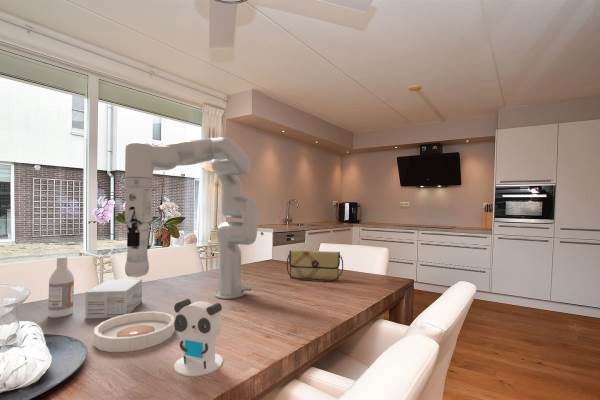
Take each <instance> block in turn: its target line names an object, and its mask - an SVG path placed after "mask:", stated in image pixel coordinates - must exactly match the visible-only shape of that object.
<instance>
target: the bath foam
mask: <svg viewBox="0 0 600 400" xmlns="http://www.w3.org/2000/svg"><path fill="white" fill-rule="evenodd" d="M74 287H75V279H74V274H73V273H72V271H71V270H70V269H69V268H68V256H58V257H56V268H55V270H53V272H52V274H51V275H50V278H49V281H48V305H47V306H48V308H47V311H48V312H47V314H48V315H47V316H48V317H49V318H52V319H54V318H55V319H56V318H57V319H58V318H64V317H66V316H67V317H68V316H69V315H71V314H73V313H74V293H75V291H74V289H75V288H74Z"/></svg>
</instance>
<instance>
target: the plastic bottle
mask: <svg viewBox="0 0 600 400" xmlns="http://www.w3.org/2000/svg"><path fill="white" fill-rule="evenodd" d="M133 221H137V220H133ZM135 227H136V225H135ZM125 232H126V233H125V235H127V224H126V226H125ZM138 232H140V245H139V246H138V247H128V246H127V254H126V262H125V265H124V272H125V275H126V276H127V277H128V278H129V277H131V278H140V277H143V276H144V277H145V276H146V275H147V274H148V273H149V270H150V262H149V256H148V242H149V233H150V224H149V222H145V223H141V222H140V225H139V231H138Z"/></svg>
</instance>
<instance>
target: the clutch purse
mask: <svg viewBox="0 0 600 400" xmlns="http://www.w3.org/2000/svg"><path fill="white" fill-rule="evenodd" d="M340 264H341V271H340V272H339V270H340V269H339V268H340ZM286 270H287V273H288V275H289V278H290V279H295V280H298V281H303V282H304V281H305V282H314V283H315V282H316V283H317V282H318V283H327V282H328V283H330V282H335V281H339V280H340V279H339V277H340V276H341V275H342V273H343V271H344V260H343V255H342V254H341V252H340V251H321V250H319V251H318V250H293V249H292V250H289V252H288V254H287V258H286ZM313 279H314V280H313Z"/></svg>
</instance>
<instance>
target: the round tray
mask: <svg viewBox="0 0 600 400" xmlns="http://www.w3.org/2000/svg"><path fill="white" fill-rule="evenodd" d="M174 322H175V317H174V315H172V314H170V313H167V312H162V311H137V312H130V313H129V314H125V315H121V316H117V317H110V318H108V319H106V320H104V321H101V322H100V323H99V324H97V325H96V326H95V327H94V331H93V347H94V348H95V349H98V350H99V351H103V352H109V353H123V352H125V353H126V352H133V351H140V350H144V349H145V350H146V349H148V348H150V347H154V346H156V345H160V344H162V343H164V342H165V341H167V340H170V338H172V337H173V335H174V333H175V332H176V330H175V327H174Z"/></svg>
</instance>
